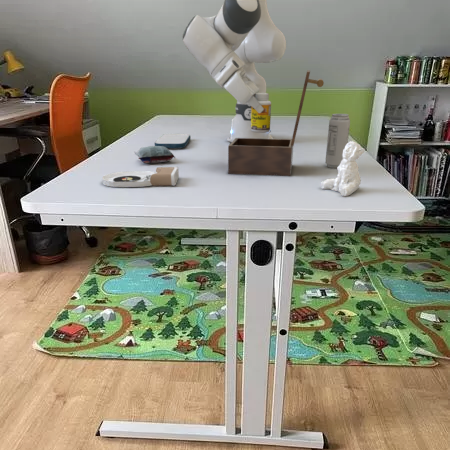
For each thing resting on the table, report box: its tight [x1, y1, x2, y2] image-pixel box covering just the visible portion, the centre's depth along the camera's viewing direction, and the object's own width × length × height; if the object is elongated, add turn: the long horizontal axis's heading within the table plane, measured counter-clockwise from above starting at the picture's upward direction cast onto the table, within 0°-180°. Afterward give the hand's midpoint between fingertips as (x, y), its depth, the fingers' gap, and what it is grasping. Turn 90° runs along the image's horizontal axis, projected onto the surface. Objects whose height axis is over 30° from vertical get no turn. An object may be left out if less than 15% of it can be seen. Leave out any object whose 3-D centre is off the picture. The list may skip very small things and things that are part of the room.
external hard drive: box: [154, 133, 191, 149], centre depth 175 cm, size 24×12×2 cm, turn 178°
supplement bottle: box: [251, 92, 272, 133], centre depth 129 cm, size 6×6×10 cm
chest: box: [227, 138, 294, 177], centre depth 135 cm, size 18×14×8 cm
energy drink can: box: [324, 113, 351, 169], centre depth 137 cm, size 6×6×15 cm
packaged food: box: [133, 145, 176, 164], centre depth 146 cm, size 9×12×5 cm
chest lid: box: [291, 69, 325, 147], centre depth 127 cm, size 19×14×5 cm
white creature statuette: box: [320, 140, 366, 197], centre depth 113 cm, size 10×9×12 cm
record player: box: [101, 166, 180, 188], centre depth 123 cm, size 12×3×20 cm
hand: (263, 110), depth 129 cm, fingers closed on supplement bottle, 5 cm apart
